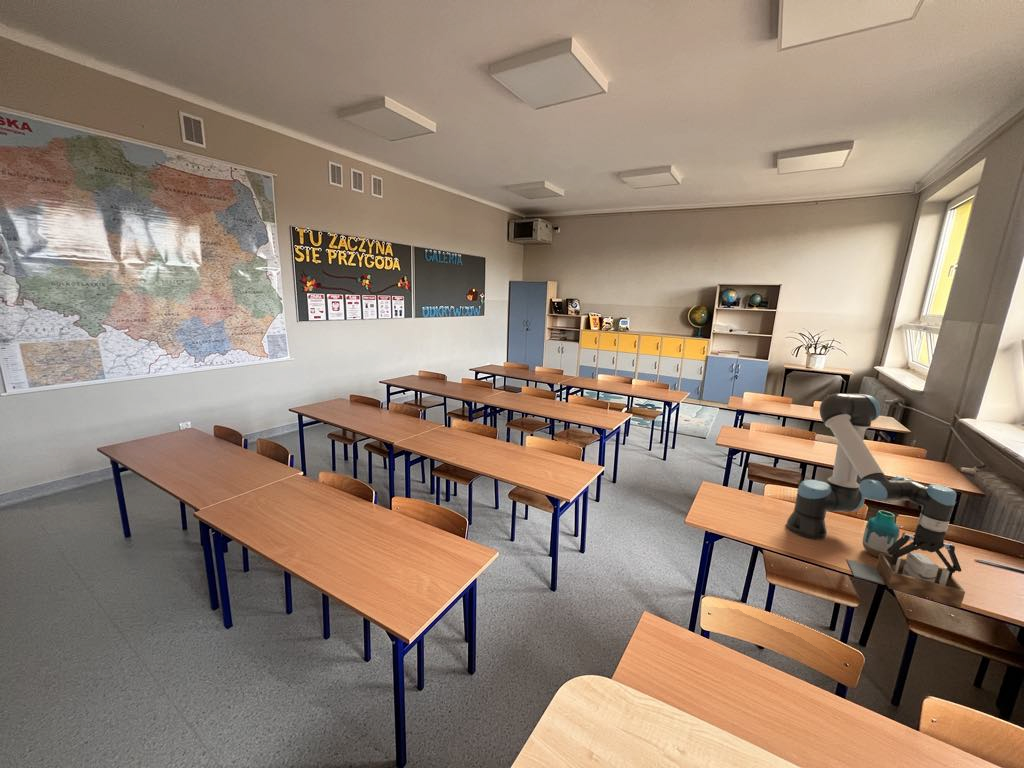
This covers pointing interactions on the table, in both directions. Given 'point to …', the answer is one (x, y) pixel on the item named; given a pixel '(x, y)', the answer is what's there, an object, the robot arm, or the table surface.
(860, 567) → the zone pad
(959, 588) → the crate
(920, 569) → the ink box
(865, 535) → the vase
